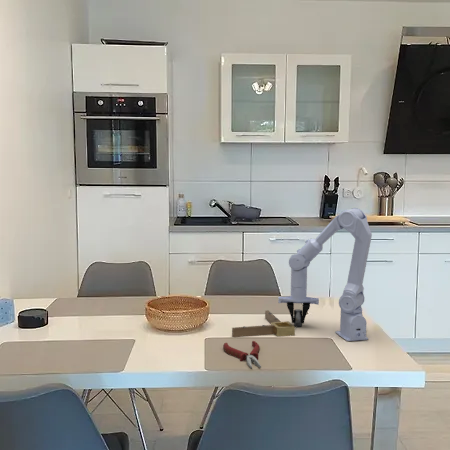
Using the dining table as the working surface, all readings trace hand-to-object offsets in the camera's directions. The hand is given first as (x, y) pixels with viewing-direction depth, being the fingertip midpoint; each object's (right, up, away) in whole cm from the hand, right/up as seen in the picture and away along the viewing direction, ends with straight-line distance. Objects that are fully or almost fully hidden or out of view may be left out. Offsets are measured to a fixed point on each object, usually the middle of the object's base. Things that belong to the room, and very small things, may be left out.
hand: (297, 322), depth 197 cm
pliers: (-21, -6, -30) cm, 38 cm away
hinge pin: (0, -1, 0) cm, 1 cm away
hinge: (-15, -2, -2) cm, 16 cm away
